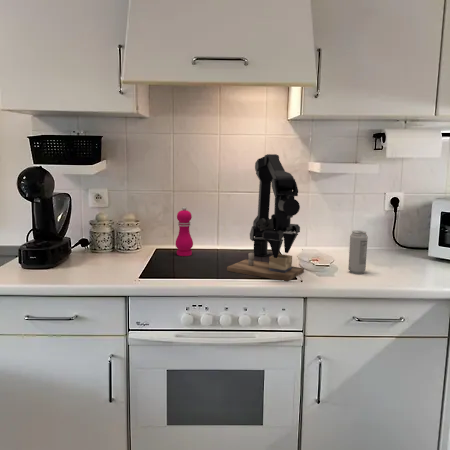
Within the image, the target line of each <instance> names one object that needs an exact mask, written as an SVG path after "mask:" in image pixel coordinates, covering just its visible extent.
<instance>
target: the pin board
mask: <svg viewBox="0 0 450 450" xmlns="http://www.w3.org/2000/svg"><path fill="white" fill-rule="evenodd" d="M247 255H248V259H247V258H245V259H243V260H241V261H238V262H236V263H232V264H231V265H228V266H227V267H226V272H232V273H237V274H243V275H250V276H255V277H261V278H266V279H270V280H271V279H272V280H277V281H282V280H284V281H283V282H290V281H291V280H293V279H294V278H296V277H298V276H300V275H302V274H303V273H305V267H304V268H303V267H297V266H293V265H292V269H291V270H290V271H288V272H286V273H281V272H275V271H269V262H266V261H260V260H255V259H254V258H255V255H254V253H253V252H248V254H247ZM279 258H284V257H279Z"/></svg>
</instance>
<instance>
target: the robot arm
mask: <svg viewBox="0 0 450 450" xmlns="http://www.w3.org/2000/svg"><path fill="white" fill-rule="evenodd" d="M254 170H255V174H256V177H257V178H258V180H259V185H258V187H259V189H258V205H257V215H256V217H255V218H254V220H253V222H252V226H251V229H250V232H249V239H250V240H251V241H252V242H253V252H252V253H254V256H257V257H266V256H269V255H271V252H272V255H273V256H274V258H277V257H278V254H280V251H281V249H282V248H281V247H282V245H283V247H284V253H286V254H288V253H290V250H291V248H292V246H293V244H294V242H295V241H296V238H297V236H299V233H301V227H300V225H299V224H297V223H291V218H293V217H294V216H296V215H298V213H299V211H300V209H301V205H300V203H299V201H298V200H297V199H295V197H298V196H299V195H298V193H299V189H298V188H299V187H298V184H297V182H296V179H295V178H294V176H293V175H292V174H291V173H290V172H288V171H286V170H285V168H284V166H283V165H282V163H281V160H280V156H279V155H278V154H275V153H274V154H272V153H271V154H270V153H268V154H265V155H264V156H262V157H260V158H257V160H256V161H255V164H254ZM271 189H272V192H273V196H274V211H273V212H274V213H273V214H271V216H270V203H271V202H270V201H271ZM269 217H271V218H269ZM268 244H269V245H268ZM269 246H270V249H271V252H269V251H268V247H269Z"/></svg>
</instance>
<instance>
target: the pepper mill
mask: <svg viewBox="0 0 450 450" xmlns="http://www.w3.org/2000/svg"><path fill="white" fill-rule="evenodd" d="M192 217H193V216H192V213H191V212H190V211H189V210H187V207H186V206H182V208H181V210H179V211H178V212H177V214H176V219H177V221H178V222H177V225H178V228H179V229H178V234H177V237H176V239H175V247H176V255H177V256H179V257H189V256H192V255H193V250H192V248H193V246H194V241H193V238H192V235H191V234H190V233H191V232H190V226H191V222H190V221H192Z"/></svg>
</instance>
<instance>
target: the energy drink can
mask: <svg viewBox="0 0 450 450" xmlns="http://www.w3.org/2000/svg"><path fill="white" fill-rule="evenodd" d="M367 252H368V235H367V231H365V230H352V232H351V233H350V236H349V251H348V271H349V273H350V274H353V275H354V274H355V275H362V274H364V273H365V272H366V267H367V254H368V253H367Z"/></svg>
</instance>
